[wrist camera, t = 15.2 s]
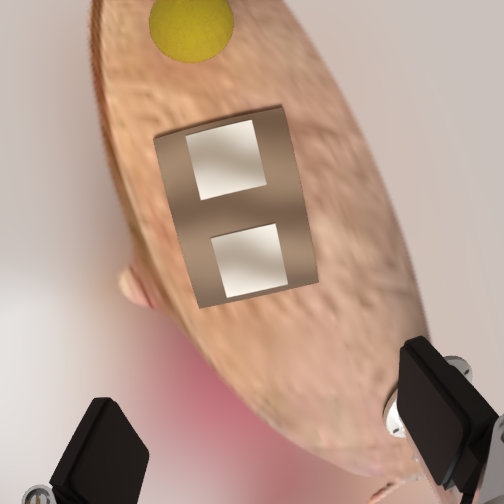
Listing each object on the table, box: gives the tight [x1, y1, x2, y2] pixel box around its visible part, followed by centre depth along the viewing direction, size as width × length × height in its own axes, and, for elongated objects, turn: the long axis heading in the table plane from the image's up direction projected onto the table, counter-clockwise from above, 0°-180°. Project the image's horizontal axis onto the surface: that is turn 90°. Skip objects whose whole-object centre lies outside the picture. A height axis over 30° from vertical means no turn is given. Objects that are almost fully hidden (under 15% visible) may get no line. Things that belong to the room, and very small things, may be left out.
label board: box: [153, 107, 319, 309], centre depth 23 cm, size 14×10×1 cm
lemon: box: [149, 0, 234, 63], centre depth 16 cm, size 6×6×8 cm
